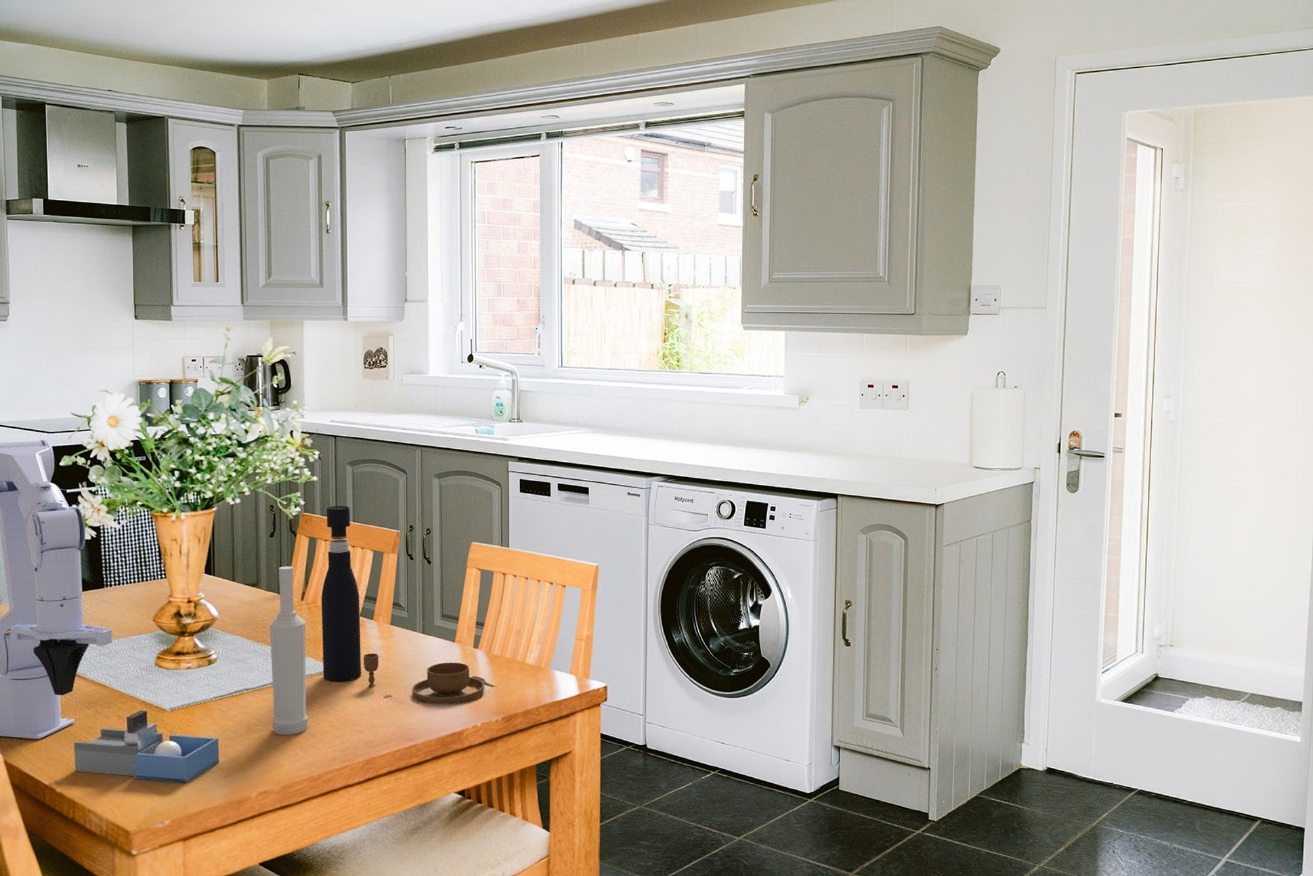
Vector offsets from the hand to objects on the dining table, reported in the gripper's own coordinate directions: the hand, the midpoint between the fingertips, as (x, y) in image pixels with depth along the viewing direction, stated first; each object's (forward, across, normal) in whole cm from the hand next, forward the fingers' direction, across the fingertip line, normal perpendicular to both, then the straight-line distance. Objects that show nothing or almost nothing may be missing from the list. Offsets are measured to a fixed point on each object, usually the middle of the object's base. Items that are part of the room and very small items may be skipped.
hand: (63, 692), depth 163 cm
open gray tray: (+10, +8, +2) cm, 13 cm away
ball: (+8, +15, +2) cm, 17 cm away
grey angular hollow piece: (+7, +11, +2) cm, 13 cm away
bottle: (+11, +23, +20) cm, 32 cm away
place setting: (+11, +36, +44) cm, 58 cm away
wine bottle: (+11, +18, +47) cm, 51 cm away
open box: (+10, +16, +2) cm, 19 cm away
